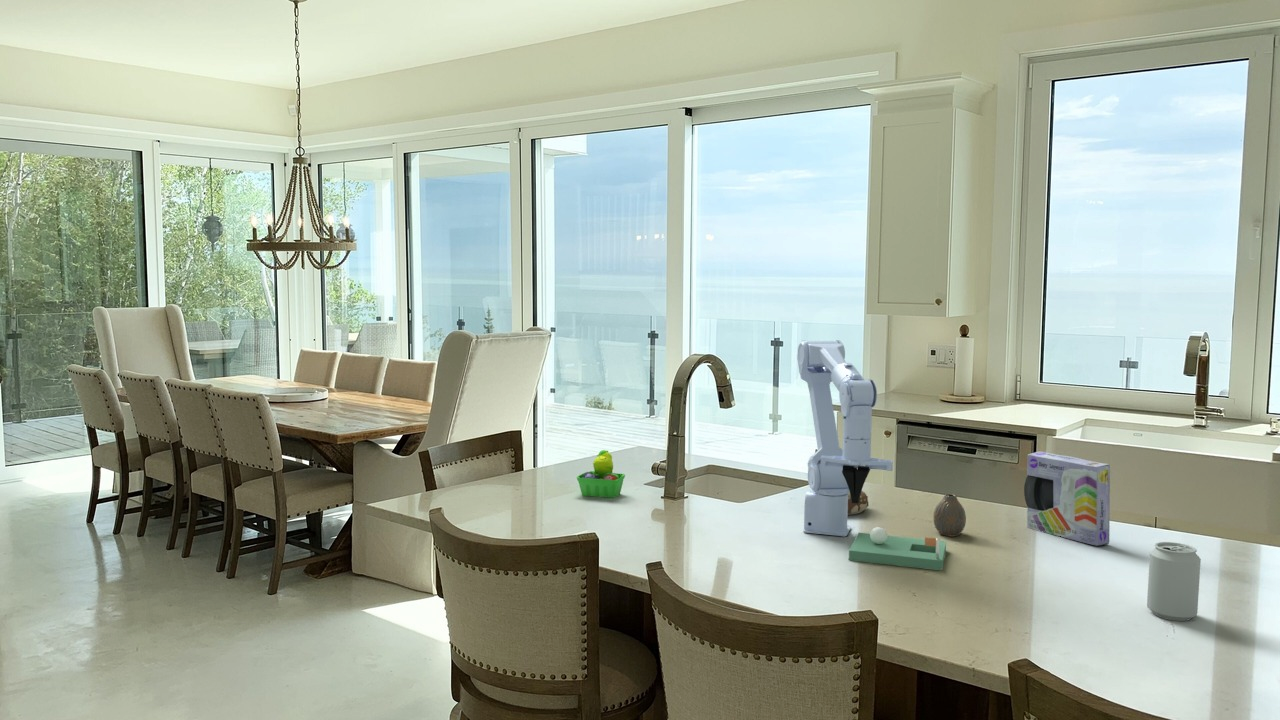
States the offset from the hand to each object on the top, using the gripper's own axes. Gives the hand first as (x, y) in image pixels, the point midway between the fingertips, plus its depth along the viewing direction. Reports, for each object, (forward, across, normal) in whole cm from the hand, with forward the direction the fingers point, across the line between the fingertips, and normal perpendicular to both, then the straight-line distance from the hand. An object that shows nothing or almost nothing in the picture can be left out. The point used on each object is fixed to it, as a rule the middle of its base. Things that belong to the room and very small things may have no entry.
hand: (855, 502), depth 193 cm
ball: (+8, +5, 0) cm, 10 cm away
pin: (+11, +16, -6) cm, 20 cm away
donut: (+10, -8, +34) cm, 37 cm away
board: (+10, +9, 0) cm, 14 cm away
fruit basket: (+10, -69, +26) cm, 75 cm away
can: (+11, +56, -17) cm, 59 cm away
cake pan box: (+11, +42, +29) cm, 52 cm away
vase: (+10, +18, +21) cm, 30 cm away
